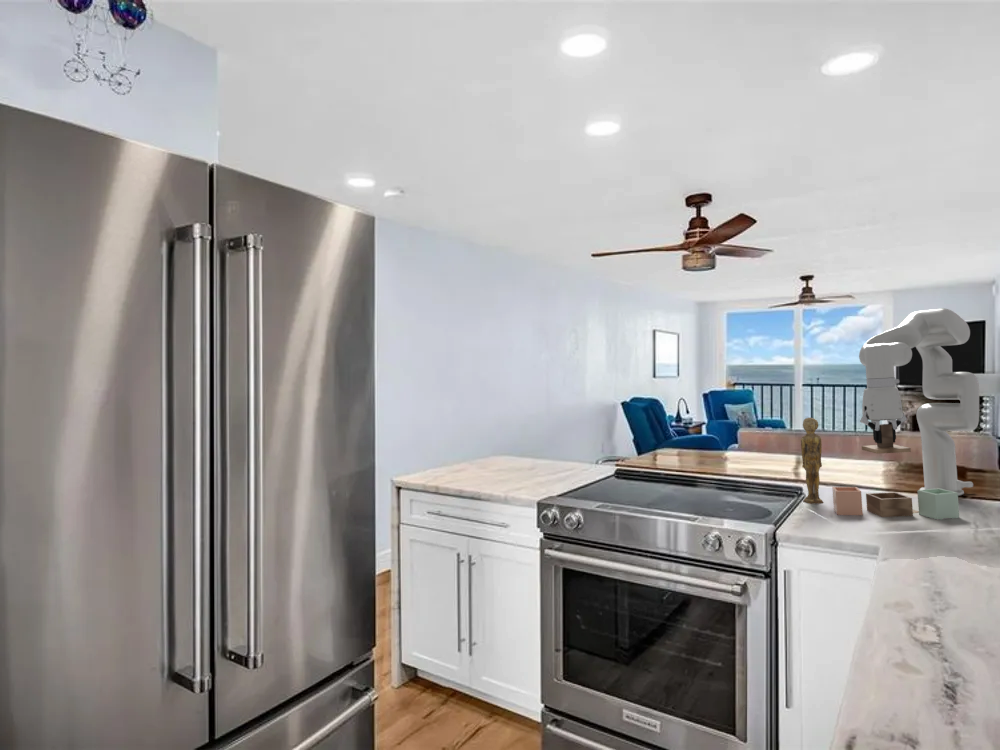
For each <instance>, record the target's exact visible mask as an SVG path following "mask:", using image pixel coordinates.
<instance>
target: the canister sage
mask: <svg viewBox="0 0 1000 750" xmlns="http://www.w3.org/2000/svg"><path fill="white" fill-rule="evenodd" d="M916 492H917V503H918V504H917V505H918V511H919V513H918V515H920V516H923V517H927V518H929V519H933V518H934V519H933V520H936V519H940V520H944V519H943V518H952V519H959V518H960V508H959V496H958V493H957V492H953V491H948V490H944V489H939V488H938V489H926V490H920V489H917V491H916Z"/></svg>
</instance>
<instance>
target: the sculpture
mask: <svg viewBox="0 0 1000 750" xmlns="http://www.w3.org/2000/svg"><path fill="white" fill-rule="evenodd" d="M802 428H803V430H805V433H806V434H805V435H803V436H801V439H800V448H801V459H802V466H801V467H802V468H803V469H804V470H805V483H806V486H807V487H806V488H807V492H808V493H807V496H805V498H804V499H803V500H802V502H803V503H805V504H809V505H810V504H815V505H816V504H824V501H823V500H822V499H821V497H820V494H819V488H820V469H821V468H822V466H823V464H822V446H823V444H822V437H821V436H820V435H818V434H816V433H815V432H817V430H818V428H819V422H818V420H817V419H816V418H813V417H806V418H805V419H803V422H802Z"/></svg>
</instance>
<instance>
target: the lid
mask: <svg viewBox="0 0 1000 750" xmlns="http://www.w3.org/2000/svg"><path fill="white" fill-rule="evenodd" d="M879 429H880V431H881V435H882V443H876V444H872V445H861V450H862V451H866V452H870V453H873V454H877V455H880V454H896V453H897V454H898V453H899V454H900V453H911V448H910V447H907V446H903V445H899V444H894V443H893V433H892V425H891V424H888V423H880V426H879Z"/></svg>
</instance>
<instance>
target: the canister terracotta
mask: <svg viewBox="0 0 1000 750" xmlns="http://www.w3.org/2000/svg"><path fill="white" fill-rule="evenodd" d="M832 500H833V501H832V504H833V511H834V512H835V513H836V515H837V516H839V515H840V516H863V515H864V514H863V511H864V510H863V501H862V500H863V498H862V490H860V488H859V487H857V486H832Z"/></svg>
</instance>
